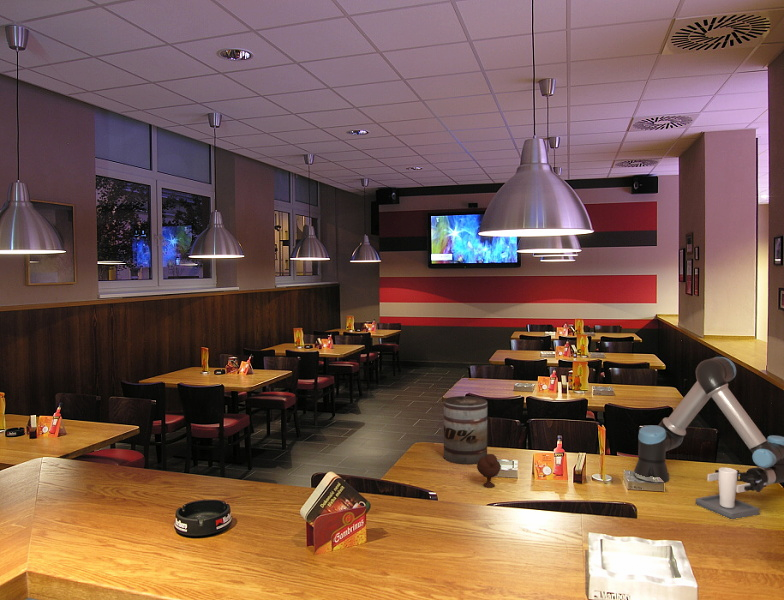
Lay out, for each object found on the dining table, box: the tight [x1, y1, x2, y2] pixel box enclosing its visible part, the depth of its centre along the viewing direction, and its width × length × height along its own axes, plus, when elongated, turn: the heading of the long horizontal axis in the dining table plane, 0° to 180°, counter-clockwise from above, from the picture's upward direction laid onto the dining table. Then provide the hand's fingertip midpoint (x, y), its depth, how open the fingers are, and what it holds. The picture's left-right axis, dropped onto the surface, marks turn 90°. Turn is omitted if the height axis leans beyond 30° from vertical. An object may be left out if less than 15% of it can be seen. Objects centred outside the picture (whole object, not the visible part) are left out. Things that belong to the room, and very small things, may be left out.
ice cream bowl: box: [476, 453, 502, 489], centre depth 273 cm, size 11×11×15 cm
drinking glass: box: [717, 467, 738, 508], centre depth 244 cm, size 7×7×15 cm
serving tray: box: [695, 493, 760, 520], centre depth 245 cm, size 17×15×2 cm
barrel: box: [443, 395, 488, 466], centre depth 313 cm, size 22×22×30 cm
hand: (722, 483), depth 243 cm, fingers open, 13 cm apart
